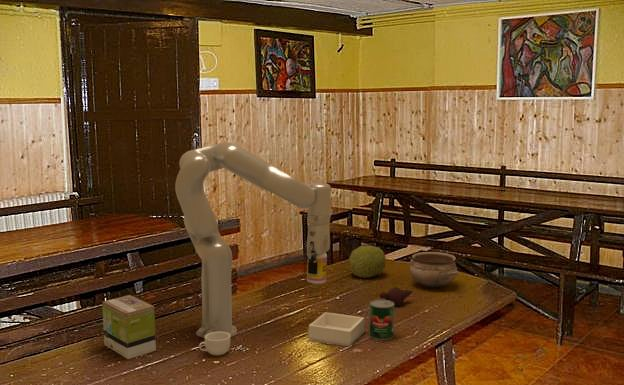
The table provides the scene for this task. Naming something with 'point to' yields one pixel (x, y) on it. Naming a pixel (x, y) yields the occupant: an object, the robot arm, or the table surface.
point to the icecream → (396, 295)
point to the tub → (336, 329)
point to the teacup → (216, 343)
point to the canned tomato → (381, 319)
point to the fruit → (367, 261)
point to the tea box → (129, 326)
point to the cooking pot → (433, 269)
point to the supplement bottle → (319, 270)
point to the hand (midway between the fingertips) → (316, 270)
